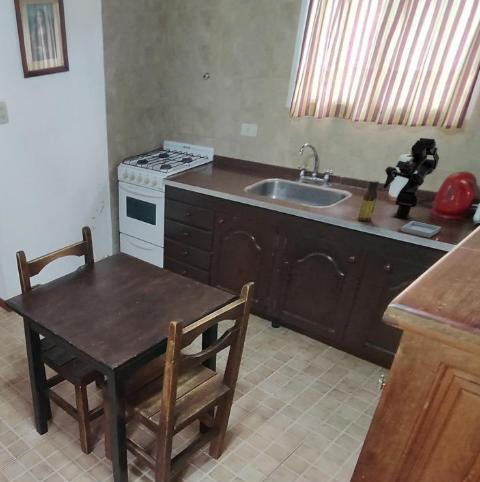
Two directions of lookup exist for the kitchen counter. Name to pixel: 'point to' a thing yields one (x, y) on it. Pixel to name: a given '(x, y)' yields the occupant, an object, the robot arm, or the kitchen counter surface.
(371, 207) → the sauce bottle
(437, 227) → the grey shallow tray
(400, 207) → the robot arm
